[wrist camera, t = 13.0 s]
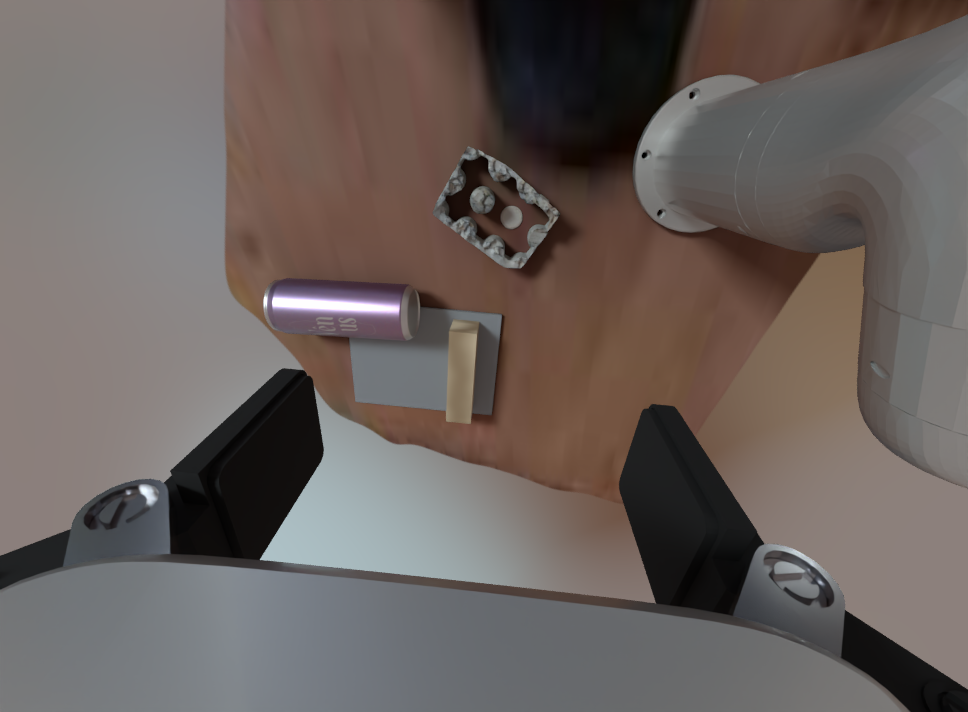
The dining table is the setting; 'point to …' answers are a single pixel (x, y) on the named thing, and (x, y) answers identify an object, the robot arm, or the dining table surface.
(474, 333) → the block
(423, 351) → the mat
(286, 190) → the dining table surface
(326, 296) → the beverage can
